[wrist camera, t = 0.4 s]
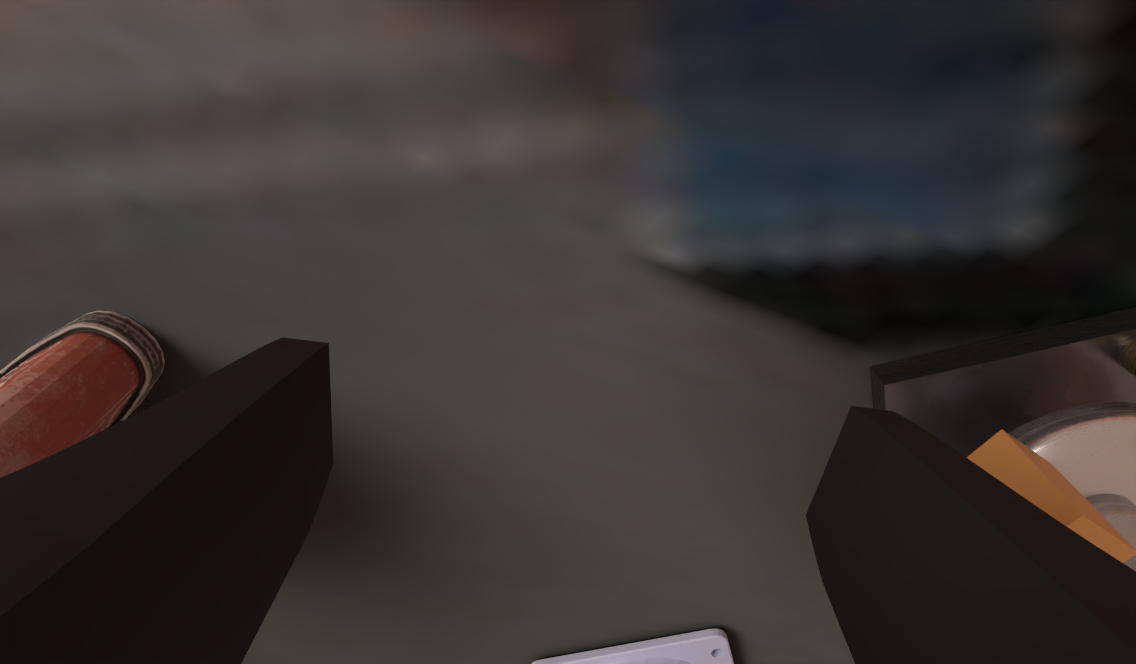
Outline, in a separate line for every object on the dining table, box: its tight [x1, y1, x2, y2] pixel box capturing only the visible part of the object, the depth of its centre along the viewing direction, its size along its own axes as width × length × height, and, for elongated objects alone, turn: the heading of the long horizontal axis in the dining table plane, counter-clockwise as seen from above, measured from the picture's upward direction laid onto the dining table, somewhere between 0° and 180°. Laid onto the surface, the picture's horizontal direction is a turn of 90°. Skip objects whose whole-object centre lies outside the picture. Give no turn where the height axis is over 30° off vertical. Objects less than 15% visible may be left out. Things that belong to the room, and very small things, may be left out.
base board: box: [870, 307, 1136, 458], centre depth 20 cm, size 9×9×4 cm
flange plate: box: [967, 402, 1136, 571], centre depth 17 cm, size 8×7×4 cm
